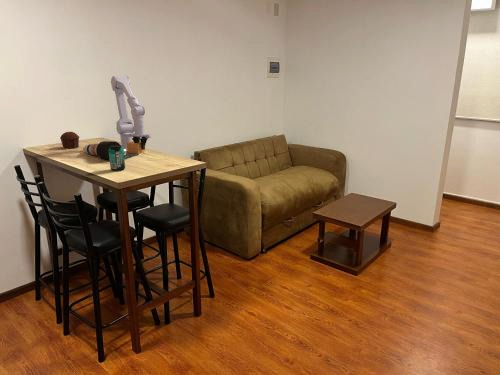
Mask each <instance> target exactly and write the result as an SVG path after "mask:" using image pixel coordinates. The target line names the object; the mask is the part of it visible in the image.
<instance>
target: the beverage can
mask: <svg viewBox="0 0 500 375" xmlns="http://www.w3.org/2000/svg"><path fill="white" fill-rule="evenodd" d="M109 159H110V160H109V168H110V170H111V171H112V172H121V171H124V170H125V169H126V162H125V160H126V159H125V160H124V150H123V148H122V146H121V144H120V145H113V146H110V148H109Z"/></svg>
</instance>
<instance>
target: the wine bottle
mask: <svg viewBox="0 0 500 375" xmlns="http://www.w3.org/2000/svg"><path fill="white" fill-rule="evenodd" d="M113 145H121V143H120V142H118V141H114V140H111V141H107V140H103V141H100V142H99V143H92V144H90V143H88V144H85V146H84V147H83V148H82V150H83V152H84V153H85V154H86V155H91V156H95V157H99V158H100V159H101V160H109V161H110V159H109V148H110V146H113Z"/></svg>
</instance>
